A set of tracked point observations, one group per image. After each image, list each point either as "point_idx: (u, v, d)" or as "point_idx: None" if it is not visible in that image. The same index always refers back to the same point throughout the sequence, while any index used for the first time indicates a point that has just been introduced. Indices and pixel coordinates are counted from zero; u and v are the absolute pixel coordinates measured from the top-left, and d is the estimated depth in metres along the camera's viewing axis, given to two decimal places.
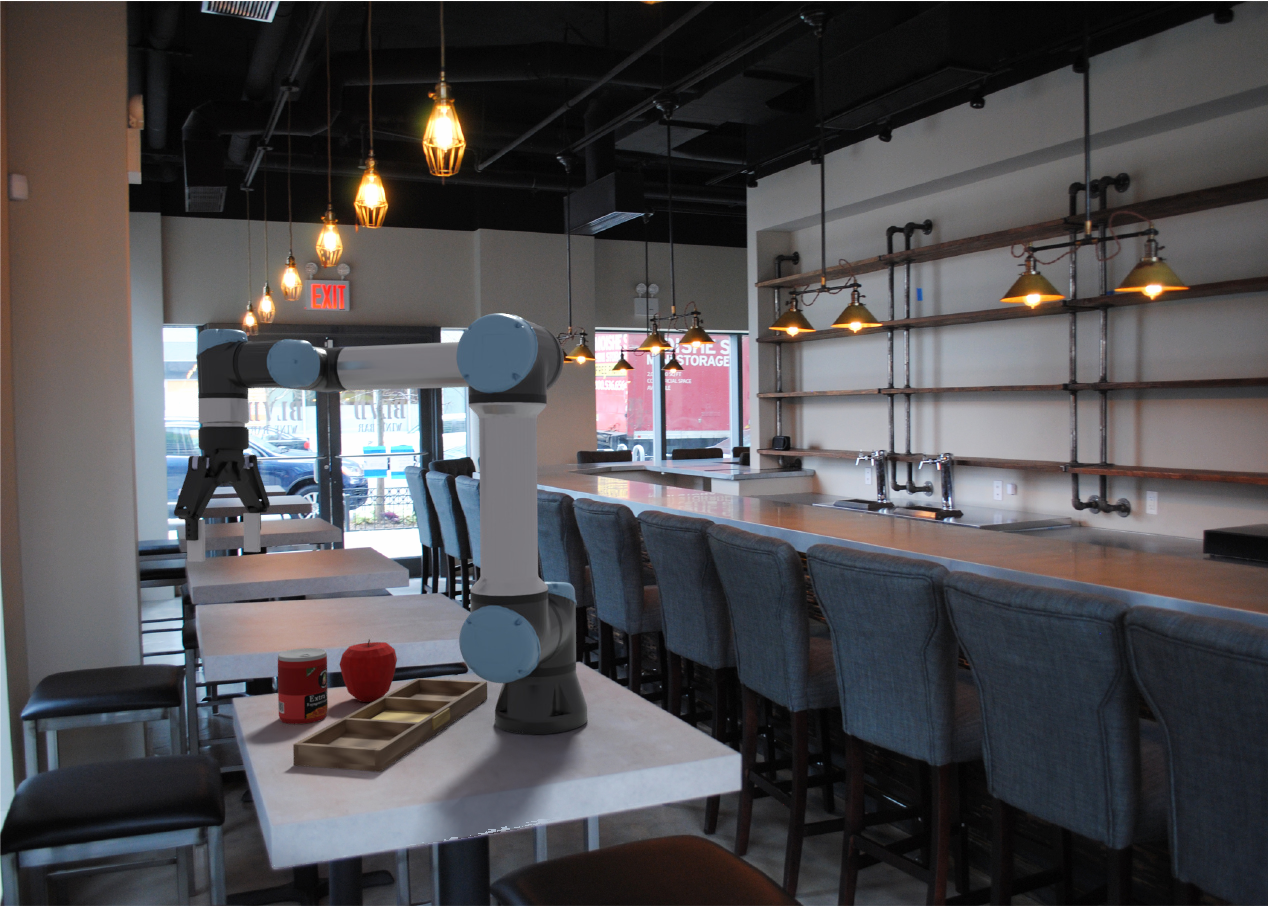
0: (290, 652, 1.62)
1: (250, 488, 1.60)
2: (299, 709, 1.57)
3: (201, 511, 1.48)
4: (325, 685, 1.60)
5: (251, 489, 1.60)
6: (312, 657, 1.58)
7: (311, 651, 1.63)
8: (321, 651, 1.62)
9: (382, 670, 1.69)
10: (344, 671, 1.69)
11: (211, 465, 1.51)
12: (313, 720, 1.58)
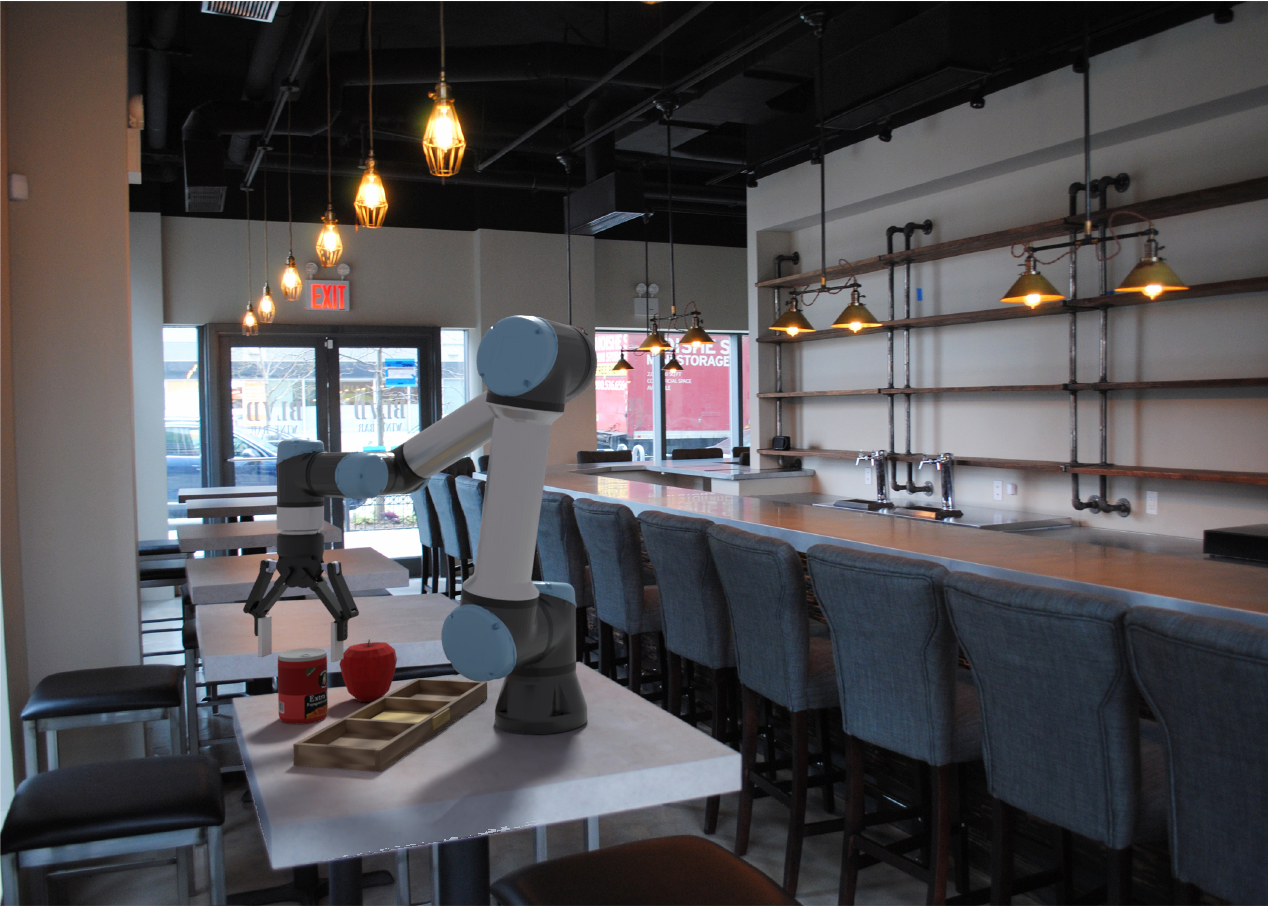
0: (290, 652, 1.62)
1: (323, 596, 1.58)
2: (299, 709, 1.57)
3: (259, 610, 1.61)
4: (325, 685, 1.60)
5: (324, 597, 1.58)
6: (312, 657, 1.58)
7: (311, 651, 1.63)
8: (321, 651, 1.62)
9: (382, 670, 1.69)
10: (344, 671, 1.69)
11: (276, 569, 1.61)
12: (313, 720, 1.58)
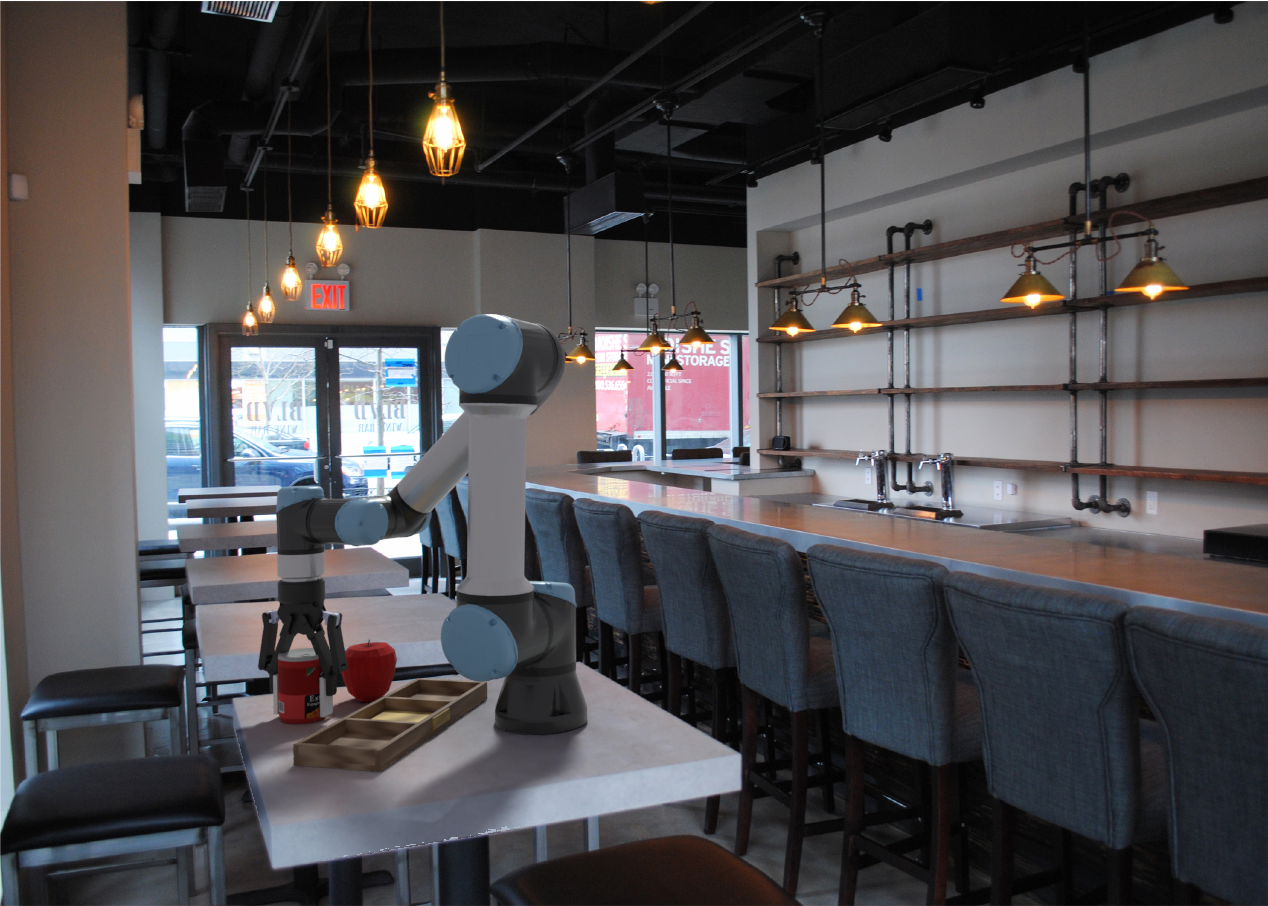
0: (290, 652, 1.62)
1: (317, 647, 1.59)
2: (299, 709, 1.57)
3: (273, 666, 1.61)
4: None
5: (318, 649, 1.59)
6: (312, 657, 1.58)
7: (311, 651, 1.63)
8: None
9: (382, 670, 1.69)
10: (344, 671, 1.69)
11: (279, 617, 1.61)
12: (313, 720, 1.58)
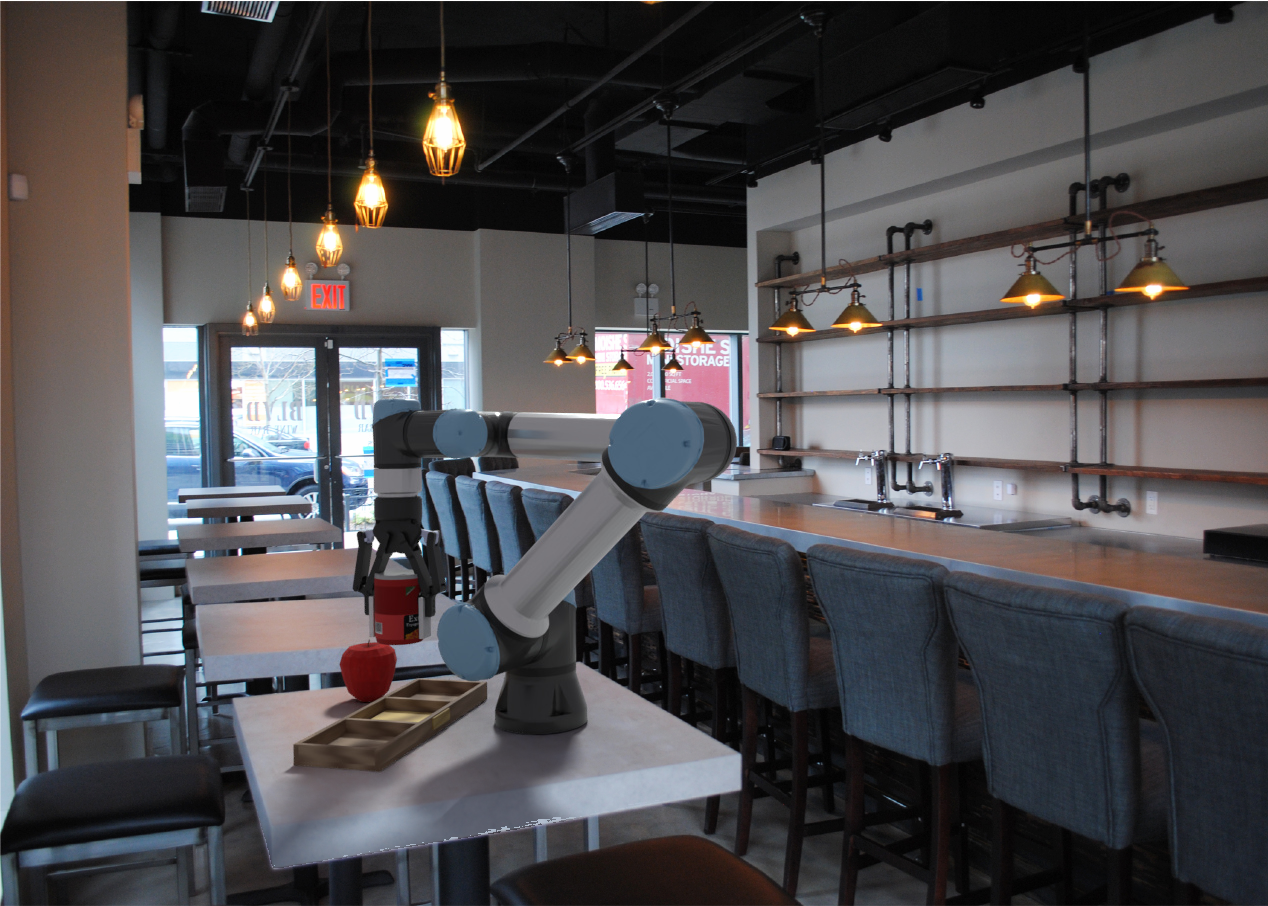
0: (386, 573, 1.56)
1: (416, 566, 1.52)
2: (398, 629, 1.50)
3: (369, 587, 1.54)
4: None
5: (417, 568, 1.52)
6: (411, 575, 1.51)
7: (407, 572, 1.57)
8: None
9: (382, 670, 1.69)
10: (344, 671, 1.69)
11: (375, 536, 1.54)
12: (412, 641, 1.52)
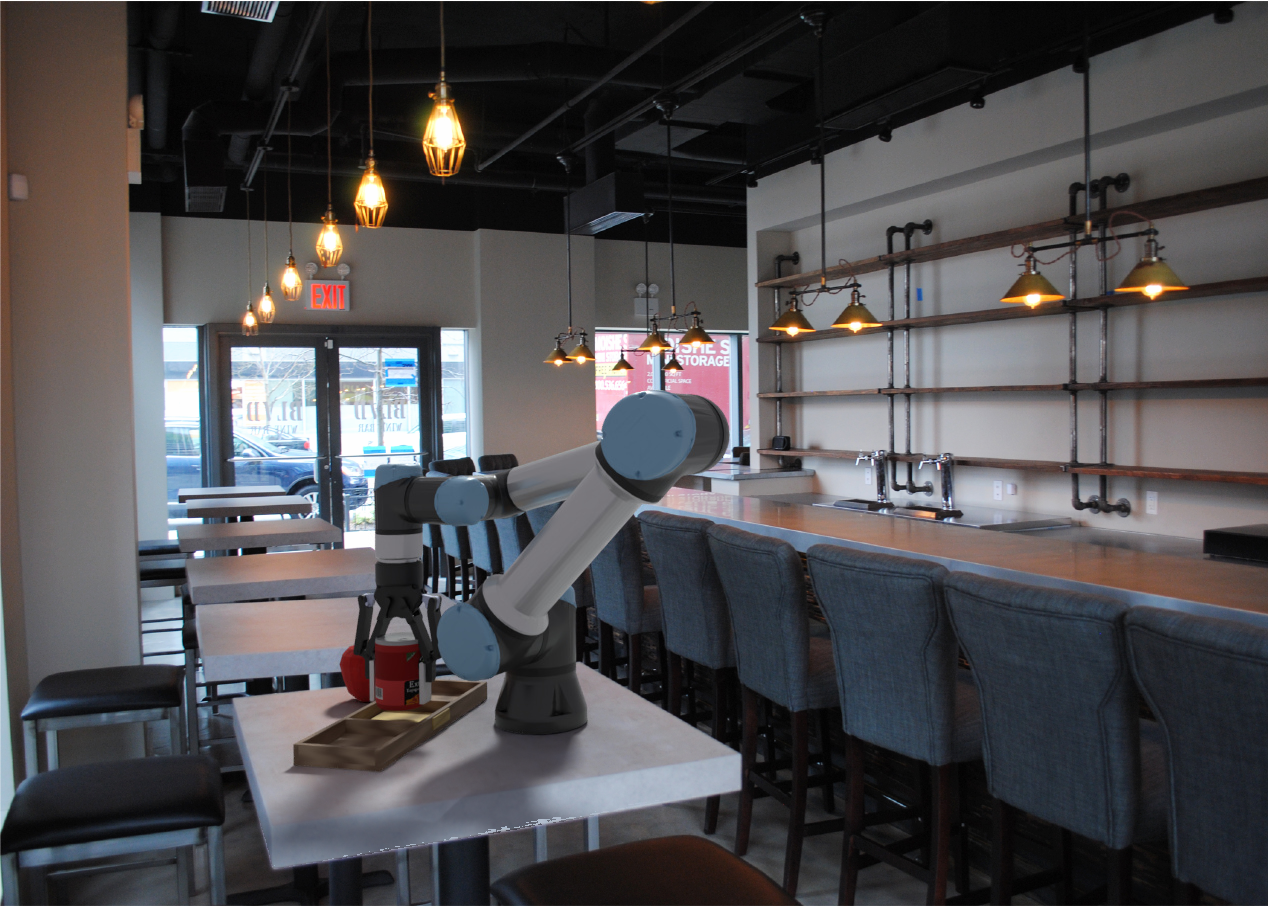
0: (387, 637, 1.56)
1: (417, 632, 1.52)
2: (399, 695, 1.51)
3: (369, 651, 1.54)
4: None
5: (418, 633, 1.52)
6: (412, 641, 1.51)
7: (407, 635, 1.57)
8: None
9: None
10: (344, 671, 1.69)
11: (376, 600, 1.54)
12: (413, 707, 1.52)
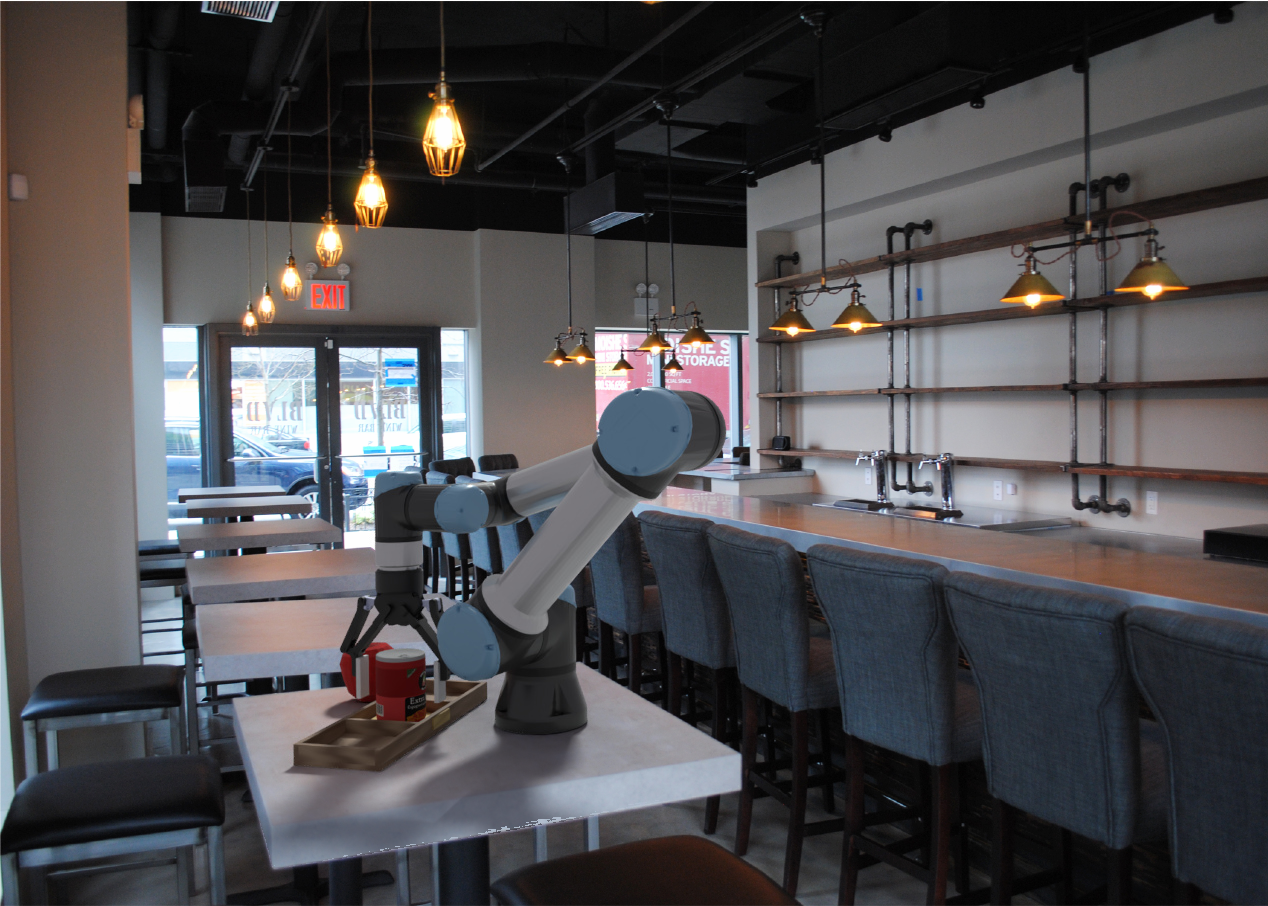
0: (387, 653, 1.56)
1: (425, 634, 1.52)
2: (399, 712, 1.51)
3: (357, 650, 1.55)
4: (424, 687, 1.54)
5: (426, 635, 1.52)
6: (412, 658, 1.51)
7: (408, 651, 1.57)
8: (419, 651, 1.56)
9: None
10: (344, 671, 1.69)
11: (375, 606, 1.54)
12: None
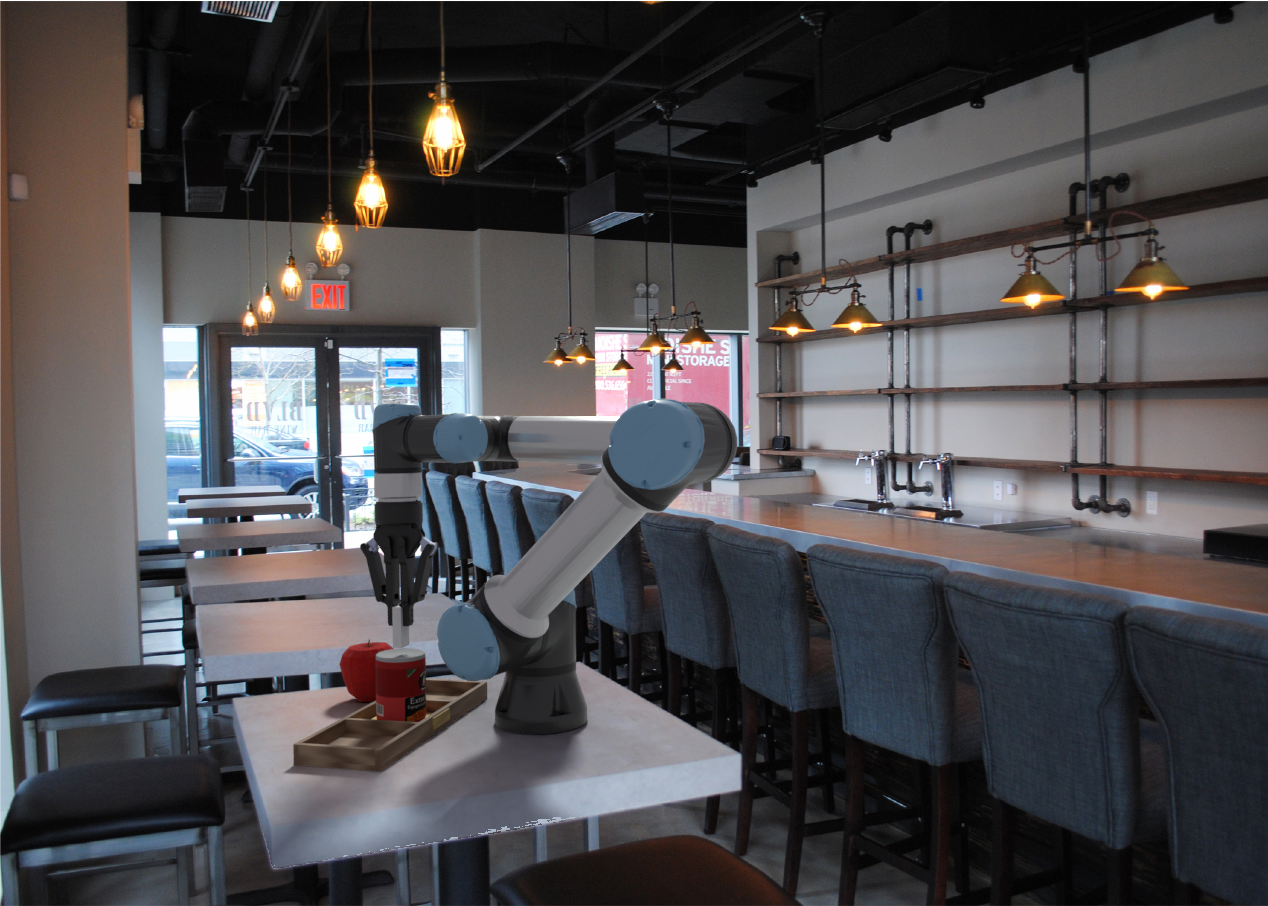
0: (387, 653, 1.56)
1: (404, 574, 1.53)
2: (399, 712, 1.51)
3: (390, 596, 1.53)
4: (424, 687, 1.54)
5: (405, 576, 1.53)
6: (412, 658, 1.51)
7: (408, 651, 1.57)
8: (419, 651, 1.56)
9: None
10: (344, 671, 1.69)
11: None
12: None
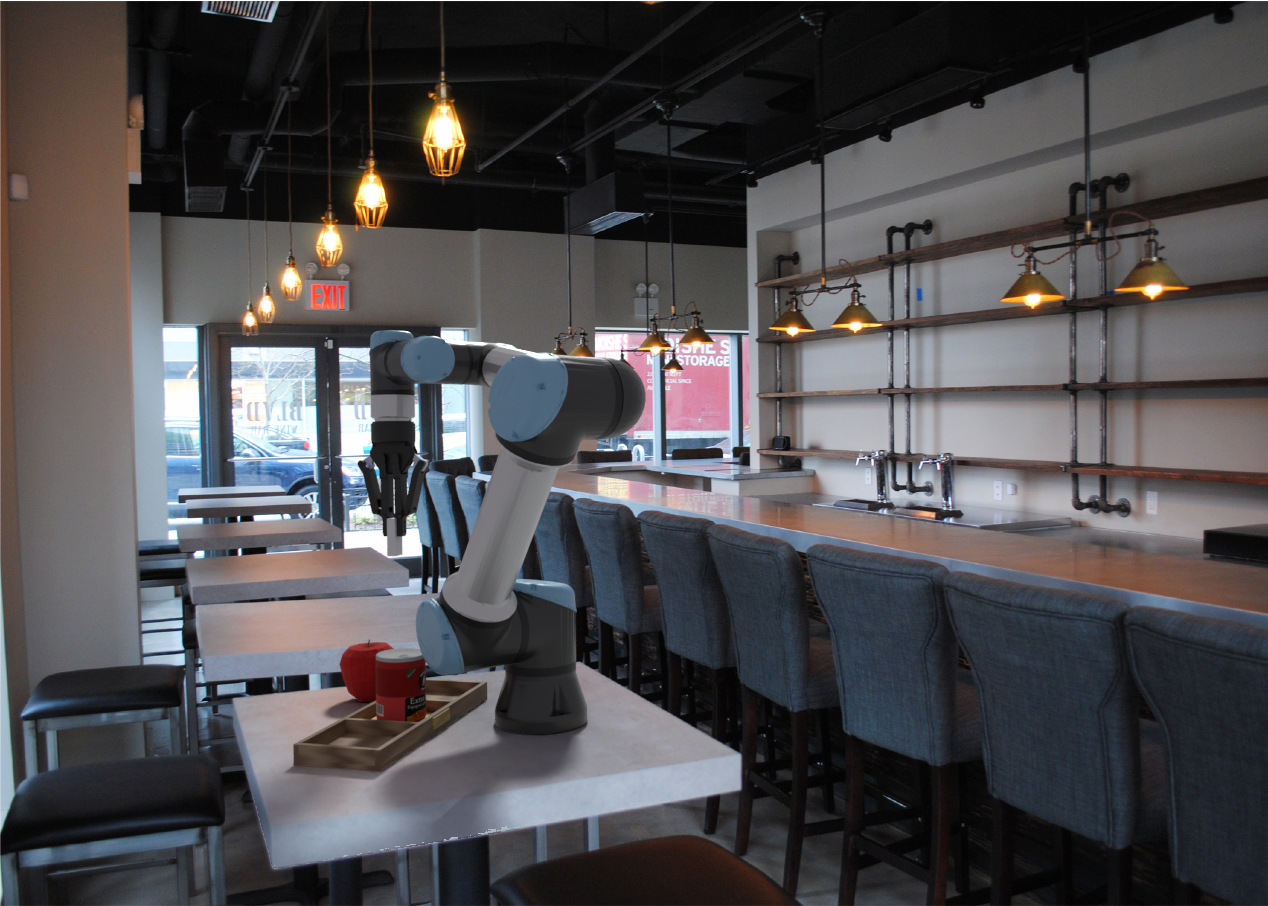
0: (387, 653, 1.56)
1: (398, 488, 1.66)
2: (400, 712, 1.51)
3: (385, 509, 1.66)
4: (424, 687, 1.54)
5: (399, 490, 1.66)
6: (412, 658, 1.51)
7: (408, 651, 1.57)
8: (419, 651, 1.56)
9: None
10: (344, 671, 1.69)
11: None
12: None
